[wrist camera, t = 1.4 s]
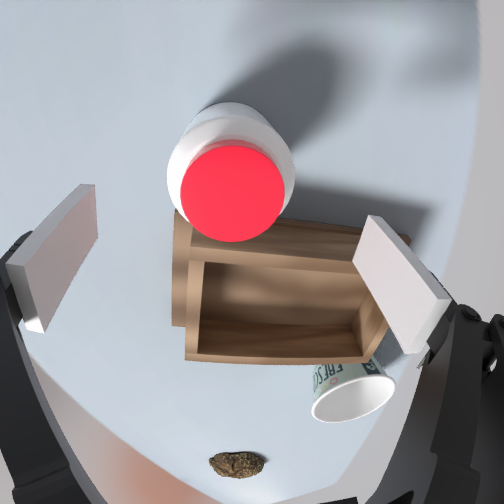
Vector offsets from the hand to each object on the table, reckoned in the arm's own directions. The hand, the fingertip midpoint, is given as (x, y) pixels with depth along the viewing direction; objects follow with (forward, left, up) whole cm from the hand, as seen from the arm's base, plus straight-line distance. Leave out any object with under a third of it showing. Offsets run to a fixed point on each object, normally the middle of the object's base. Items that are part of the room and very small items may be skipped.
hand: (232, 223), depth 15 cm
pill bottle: (0, 0, -14) cm, 14 cm away
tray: (+13, +8, -13) cm, 20 cm away
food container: (+28, +20, -14) cm, 37 cm away
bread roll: (+66, +9, -14) cm, 68 cm away
